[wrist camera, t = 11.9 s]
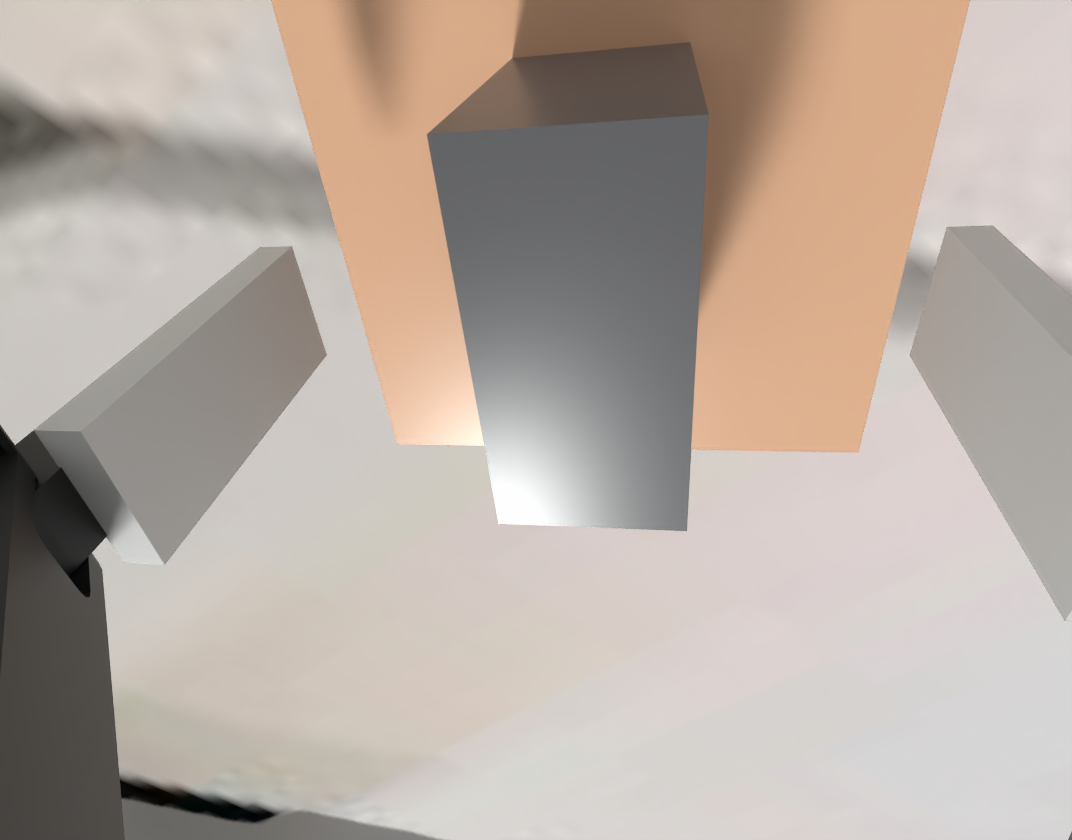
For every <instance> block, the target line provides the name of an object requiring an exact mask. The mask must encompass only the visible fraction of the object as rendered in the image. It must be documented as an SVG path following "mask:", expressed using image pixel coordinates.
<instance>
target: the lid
mask: <svg viewBox="0 0 1072 840" xmlns="http://www.w3.org/2000/svg"><path fill="white" fill-rule="evenodd" d="M271 2H272V5H273V9H274V12H275V16H276V19H277V23H278V26H279V30H280V34H281V37H282V41H283V44H284V48H285V51H286V55H287V58H288V62H289V65H290V69H291V72H292V76H293V79H294V83H295V86H296V90H297V93H298V97H299V100H300V104H301V107H302V111H303V114H304V118H305V121H306V125H307V129H308V132H309V136H310V139H311V143H312V146H313V150H314V153H315V157H316V160H317V164H318V167H319V171H320V174H321V178H322V181H323V185H324V188H325V192H326V195H327V199H328V202H329V206H330V209H331V213H332V216H333V220H334V224H335V227H336V231H337V234H338V238H339V241H340V245H341V248H342V252H343V255H344V259H345V262H346V266H347V269H348V273H349V276H350V280H351V283H352V287H353V290H354V294H355V297H356V301H357V304H358V308H359V311H360V315H361V319H362V322H363V326H364V329H365V333H366V336H367V340H368V343H369V347H370V350H371V354H372V357H373V361H374V364H375V368H376V371H377V375H378V378H379V382H380V385H381V389H382V392H383V396H384V399H385V403H386V406H387V410H388V414H389V417H390V421H391V424H392V428H393V431H394V435H395V438H396V442H397V444H414V445H470V446H484V447H485V453H486V458H487V464H488V469H489V474H490V480H491V485H492V491H493V496H494V501H495V507H496V512H497V518H498V523H499V524H523V525H548V526H573V527H598V528H623V529H649V530H674V531H687V518H688V499H689V480H690V461H691V450H745V451H800V452H855V453H858V452H859V448H860V444H861V440H862V436H863V432H864V428H865V424H866V420H867V416H868V412H869V408H870V404H871V400H872V396H873V392H874V388H875V384H876V379H877V375H878V371H879V367H880V363H881V359H882V355H883V351H884V347H885V343H886V339H887V335H888V331H889V327H890V323H891V319H892V315H893V311H894V307H895V303H896V298H897V294H898V290H899V286H900V282H901V278H902V274H903V270H904V266H905V262H906V258H907V254H908V250H909V246H910V242H911V238H912V234H913V230H914V226H915V221H916V217H917V213H918V209H919V205H920V201H921V197H922V193H923V189H924V185H925V181H926V177H927V173H928V169H929V165H930V161H931V157H932V153H933V149H934V145H935V140H936V136H937V132H938V128H939V124H940V120H941V116H942V112H943V108H944V104H945V100H946V96H947V92H948V88H949V84H950V80H951V76H952V72H953V68H954V64H955V59H956V55H957V51H958V47H959V43H960V39H961V35H962V31H963V27H964V23H965V19H966V15H967V11H968V7H969V3H970V0H271Z"/></svg>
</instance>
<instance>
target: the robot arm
mask: <svg viewBox="0 0 1072 840" xmlns="http://www.w3.org/2000/svg"><path fill="white" fill-rule="evenodd" d="M325 356H326V351H325V348H324V345H323V342H322V339H321V336H320V333H319V330H318V327H317V323H316V320H315V317H314V314H313V311H312V308H311V305H310V302H309V298H308V295H307V292H306V289H305V286H304V283H303V280H302V277H301V273H300V270H299V267H298V264H297V261H296V258H295V255H294V252H293V249H292V246H290V247H260V248H258V249H257V250H256V251H255V252H254V253H252V254H251V255H250V256H249V257H247V258H246V259H245V260H244V261H242V262H241V263H240V264H239V265H237V266H236V267H235V268H234V269H233V270H231V271H230V272H229V273H228V274H226V275H225V276H224V277H223V278H221V279H220V280H219V281H218V282H216V283H215V284H214V285H213V286H212V287H210V288H209V289H208V290H207V291H205V292H204V293H203V294H202V295H200V296H199V297H198V298H197V299H195V300H194V301H193V302H192V303H190V304H189V305H188V306H187V307H186V308H184V309H183V310H182V311H181V312H179V313H178V314H177V315H176V316H174V317H173V318H172V319H171V320H169V321H168V322H167V323H166V324H165V325H163V326H162V327H161V328H160V329H158V330H157V331H156V332H155V333H153V334H152V335H151V336H150V337H148V338H147V339H146V340H145V341H143V342H142V343H141V344H140V345H139V346H137V347H136V348H135V349H134V350H132V351H131V352H130V353H129V354H127V355H126V356H125V357H124V358H122V359H121V360H120V361H119V362H118V363H116V364H115V365H114V366H113V367H111V368H110V369H109V370H108V371H106V372H105V373H104V374H103V375H101V376H100V377H99V378H98V379H97V380H95V381H94V382H93V383H92V384H90V385H89V386H88V387H87V388H85V389H84V390H83V391H82V392H80V393H79V394H78V395H77V396H75V397H74V398H73V399H72V400H71V401H69V402H68V403H67V404H66V405H64V406H63V407H62V408H61V409H59V410H58V411H57V412H56V413H54V414H53V415H52V416H51V417H50V418H48V419H47V420H46V421H45V422H43V423H42V424H41V425H40V426H38V427H37V428H36V429H35V430H34V431H32V432H31V433H30V434H29V435H27V436H26V437H25V438H24V439H22V440H21V441H20V442H19V443H17V444H16V445H14V443H13V442H12V441H11V439H10V438H9V436H8V435H7V434H6V432H5V431H4V429H3V428H2V427H1V425H0V840H125V839H124V827H123V815H122V803H121V791H120V779H119V767H118V755H117V743H116V731H115V719H114V707H113V695H112V683H111V671H110V659H109V647H108V635H107V623H106V611H105V599H104V587H103V575H102V569H101V567H100V565H99V563H98V561H97V560H96V558H95V557H94V555H93V554H92V552H93V551H94V550H95V549H96V547H97V546H98V545H99V544H100V543H101V542H102V541H103V540H104V539H105V537H107V539H108V540H109V542H110V543H111V545H112V546H113V548H114V549H115V551H116V552H117V554H118V555H119V556H120V558H121V559H122V561H123V562H126V563H142V564H158V565H165V564H166V562H167V561H168V560H169V559H170V557H171V556H172V555H173V553H174V552H175V551H176V549H177V548H178V547H179V546H180V544H181V543H182V542H183V540H184V539H185V538H186V537H187V535H188V534H189V533H190V531H191V530H192V529H193V527H194V526H195V525H196V524H197V522H198V521H199V520H200V518H201V517H202V516H203V514H204V513H205V512H206V511H207V509H208V508H209V507H210V505H211V504H212V503H213V502H214V500H215V499H216V498H217V496H218V495H219V494H220V492H221V491H222V490H223V489H224V487H225V486H226V485H227V483H228V482H229V481H230V479H231V478H232V477H233V476H234V474H235V473H236V472H237V470H238V469H239V468H240V467H241V465H242V464H243V463H244V461H245V460H246V459H247V457H248V456H249V455H250V454H251V452H252V451H253V450H254V448H255V447H256V446H257V445H258V443H259V442H260V441H261V439H262V438H263V437H264V435H265V434H266V433H267V432H268V430H269V429H270V428H271V426H272V425H273V424H274V422H275V421H276V420H277V419H278V417H279V416H280V415H281V413H282V412H283V411H284V410H285V408H286V407H287V406H288V404H289V403H290V402H291V400H292V399H293V398H294V397H295V395H296V394H297V393H298V391H299V390H300V389H301V387H302V386H303V385H304V384H305V382H306V381H307V380H308V378H309V377H310V376H311V375H312V373H313V372H314V371H315V369H316V368H317V367H318V365H319V364H320V363H321V362H322V360H323V359H324V358H325ZM910 357H911V359H912V360H913V362H914V364H915V365H916V367H917V369H918V370H919V372H920V374H921V376H922V377H923V379H924V381H925V382H926V384H927V386H928V388H929V389H930V391H931V393H932V394H933V396H934V398H935V400H936V401H937V403H938V405H939V406H940V408H941V410H942V412H943V413H944V415H945V417H946V418H947V420H948V422H949V424H950V425H951V427H952V429H953V430H954V432H955V434H956V436H957V437H958V439H959V441H960V442H961V444H962V446H963V448H964V449H965V451H966V453H967V454H968V456H969V458H970V460H971V461H972V463H973V465H974V466H975V468H976V470H977V472H978V473H979V475H980V477H981V478H982V480H983V482H984V484H985V485H986V487H987V489H988V490H989V492H990V494H991V496H992V497H993V499H994V501H995V502H996V504H997V506H998V508H999V509H1000V511H1001V513H1002V514H1003V516H1004V518H1005V520H1006V521H1007V523H1008V525H1009V526H1010V528H1011V530H1012V532H1013V533H1014V535H1015V537H1016V538H1017V540H1018V542H1019V544H1020V545H1021V547H1022V549H1023V550H1024V552H1025V554H1026V556H1027V557H1028V559H1029V561H1030V562H1031V564H1032V566H1033V567H1034V569H1035V571H1036V573H1037V574H1038V576H1039V578H1040V579H1041V581H1042V583H1043V585H1044V586H1045V588H1046V590H1047V591H1048V593H1049V595H1050V597H1051V598H1052V600H1053V602H1054V603H1055V605H1056V607H1057V609H1058V610H1059V612H1060V614H1061V615H1062V617H1063V619H1064V621H1069V622H1072V296H1070V295H1069V294H1068V293H1067V292H1066V291H1065V290H1064V289H1063V288H1061V287H1060V286H1059V285H1058V284H1057V283H1056V282H1055V281H1054V280H1053V279H1051V278H1050V277H1049V276H1048V275H1047V274H1046V273H1045V272H1044V271H1043V270H1041V269H1040V268H1039V267H1038V266H1037V265H1036V264H1035V263H1034V262H1033V261H1031V260H1030V259H1029V258H1028V257H1027V256H1026V255H1025V254H1024V253H1023V252H1021V251H1020V250H1019V249H1018V248H1017V247H1016V246H1015V245H1014V244H1013V243H1011V242H1010V241H1009V240H1008V239H1007V238H1006V237H1005V236H1004V235H1003V234H1001V233H1000V232H999V231H998V230H997V229H996V228H995V227H994V226H964V227H947V228H946V232H945V235H944V239H943V242H942V246H941V249H940V253H939V256H938V260H937V263H936V267H935V270H934V273H933V277H932V280H931V284H930V287H929V291H928V294H927V298H926V301H925V305H924V308H923V311H922V315H921V318H920V322H919V325H918V329H917V332H916V336H915V339H914V343H913V346H912V350H911V353H910ZM1068 840H1072V833H1071V835H1070V837H1069V839H1068Z"/></svg>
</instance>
